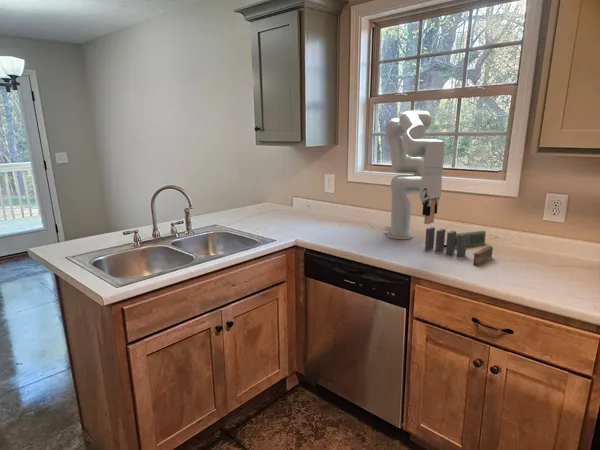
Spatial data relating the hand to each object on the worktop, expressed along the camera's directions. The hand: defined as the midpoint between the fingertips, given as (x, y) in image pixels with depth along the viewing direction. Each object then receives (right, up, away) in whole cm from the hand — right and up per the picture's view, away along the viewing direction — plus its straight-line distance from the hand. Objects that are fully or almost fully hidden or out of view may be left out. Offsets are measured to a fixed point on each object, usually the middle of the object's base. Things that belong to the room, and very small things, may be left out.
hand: (429, 213), depth 165 cm
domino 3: (+9, -17, +13) cm, 23 cm away
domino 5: (+16, -18, +6) cm, 25 cm away
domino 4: (+12, -17, +10) cm, 23 cm away
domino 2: (+5, -16, +17) cm, 24 cm away
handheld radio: (+22, -15, +21) cm, 34 cm away
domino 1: (0, -4, +1) cm, 4 cm away
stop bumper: (+22, -20, 0) cm, 30 cm away
